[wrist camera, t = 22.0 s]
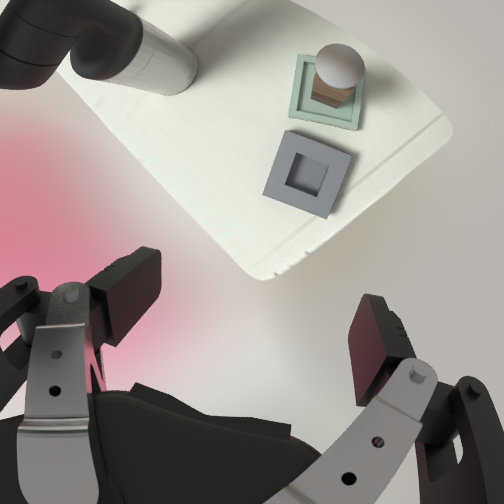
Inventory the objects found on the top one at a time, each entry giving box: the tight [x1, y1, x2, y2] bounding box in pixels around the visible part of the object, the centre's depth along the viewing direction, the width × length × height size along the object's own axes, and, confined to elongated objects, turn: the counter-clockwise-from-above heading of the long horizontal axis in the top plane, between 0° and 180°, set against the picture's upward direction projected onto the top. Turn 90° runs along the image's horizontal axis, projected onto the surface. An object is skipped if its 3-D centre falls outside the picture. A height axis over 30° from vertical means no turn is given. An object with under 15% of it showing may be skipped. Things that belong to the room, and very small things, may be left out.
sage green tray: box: [288, 54, 366, 131], centre depth 35 cm, size 10×10×2 cm
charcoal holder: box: [262, 130, 352, 219], centre depth 40 cm, size 10×10×3 cm
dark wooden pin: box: [311, 44, 365, 109], centre depth 28 cm, size 5×5×15 cm
